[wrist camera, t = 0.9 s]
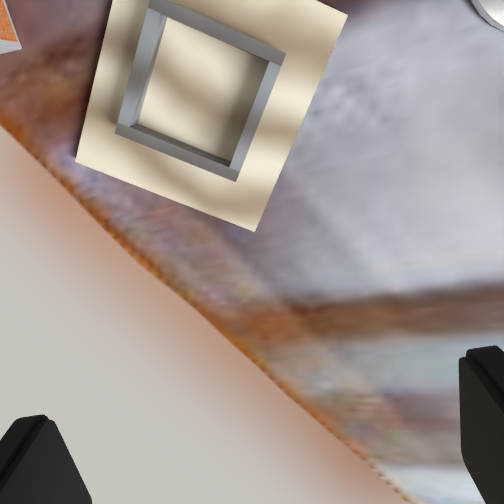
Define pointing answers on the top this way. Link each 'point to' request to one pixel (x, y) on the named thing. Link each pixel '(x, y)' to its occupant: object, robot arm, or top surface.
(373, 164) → the top surface
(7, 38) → the skincare box
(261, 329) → the top surface
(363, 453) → the top surface
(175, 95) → the holder board
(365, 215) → the top surface
